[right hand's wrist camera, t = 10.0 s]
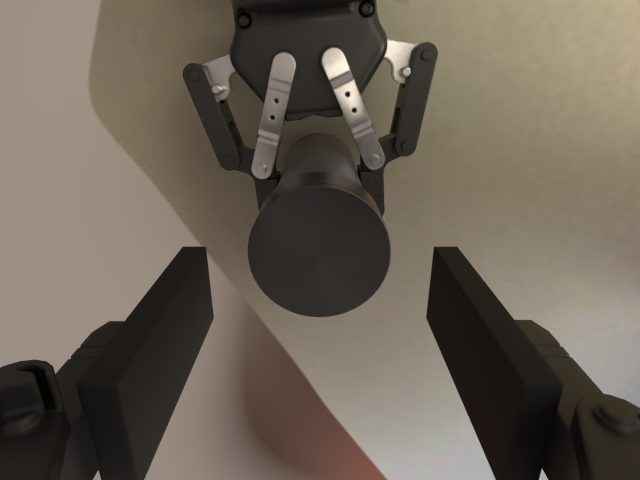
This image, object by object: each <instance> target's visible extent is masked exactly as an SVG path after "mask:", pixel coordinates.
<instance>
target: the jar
mask: <svg viewBox="0 0 640 480" xmlns="http://www.w3.org/2000/svg"><path fill="white" fill-rule="evenodd" d="M309 172H330V173H335V174H339V175H342V176H345V177H347V178H349V179H351V180H353V181H355V182H356V183H358V184H359V185H360V186H362V184H361V182H360V179H359V176H358V173H357V171H356V168H355V165H354V162H353V159H352V157H351V154H350V152H349V150H348V148H347V147H346V146H345V145H344V143H343V142H341V141H340V140H339V139H337V138H336V137H334V136H331V135H328V134H312V135H309V136H306V137H304V138H303V139H301V140H300V141H299V142H297V143H296V144H295V146H294V147H293V148H292V150H291V152H290V154H289V156H288V159H287V162H286V164H285V167H284V170H283V172H282V175H281V178H280V180H279V183H278V186H279V185H280V184H282V183H283V182H285V181H286V180H288V179H290V178H292V177H294V176H297V175H300V174H304V173H309ZM278 186H277V187H278Z"/></svg>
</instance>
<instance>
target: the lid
mask: <svg viewBox="0 0 640 480" xmlns="http://www.w3.org/2000/svg"><path fill="white" fill-rule="evenodd" d="M248 259H249V265H250V268H251V272H252V274H253V276H254V279H255V281H256V282H257V284H258V285H259V287H260V288H261V289H262V291H263V292H264V293H265V294H266V295H267V296H268V297H269V298H270V299H271V300H272V301H274V302H275V303H276V304H278V305H279V306H281V307H283V308H285V309H287V310H289V311H291V312H294V313H297V314H300V315H305V316H312V317H328V316H334V315H339V314H342V313H345V312H348V311H350V310H353V309H355V308H356V307H358V306H360V305H361V304H363V303H364V302H365V301H367V300H368V299H369V298H370V297H371V296H372V295H373V294H374V293H375V292H376V291H377V290H378V288H379V287H380V285H381V284H382V282H383V281H384V279H385V276H386V274H387V272H388V268H389V265H390V259H391V243H390V237H389V234H388V230H387V228H386V225H385V223H384V221H383V218H382V216H381V214H380V211H379V209H378V207H377V205H376V203H375V201H374V200H373V198H372V197H371V196H370V194H369V193H368V192H367V191H366V190H365V189H364V188H363V187H362V186H360V185H359V184H358V183H356V182H355V181H353V180H351V179H349V178H347V177H345V176H342V175H339V174H335V173H330V172H309V173H304V174H300V175H297V176H294V177H292V178H290V179H288V180H286V181H285V182H283V183H282V184H280V185H279V186H278V187H276V188H275V189H274V190H273V191H272V192H271V193H270V195H269V196H268V197H267V198H266V200H265V202H264V203H263V205H262V207H261V209H260V212H259V214H258V216H257V218H256V221H255V223H254V225H253V228H252V230H251V234H250V237H249V243H248Z"/></svg>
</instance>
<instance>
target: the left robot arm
mask: <svg viewBox="0 0 640 480" xmlns="http://www.w3.org/2000/svg"><path fill="white" fill-rule="evenodd" d="M232 6H233V14H234V21H235V33H234V38H233V42H232V44H231V47H230V54H228V55H225V56H223V57H220V58H217V59H215V60H212V61H209V62H207V63H204V64H196V63H191V64H188V65H187V66H186V67H185V68H184V70H183V78H184V81H185V83H186V85H187V88H188V90H189V92H190V95H191V97H192V99H193V102H194V104H195V106H196V109H197V111H198V114H199V116H200V118H201V121H202V123H203V125H204V128H205V130H206V132H207V135H208V137H209V140H210V142H211V144H212V147H213V149H214V151H215V154H216V156H217V158H218V161H219V163H220V165H221V166H222V167H223V168H224V169H226V170H229V171H231V170H237V171H241V172H245V173H247V174H249V175H250V176H251V177H252V178H253V179H254V182H255V186H256V193H257V200H258V207H259V212H260V209H261V207H262V205H263V203H264V202H265V200H266V198H267V197H268V196H269V195H270V193H271V192H272V191H273V190H274V189H275V188H276V187H277V186H278V183H279V180H280V178H281V173H280V171H277V170H276V161H277V157H278V153H279V148H280V144H281V140H282V136H283V133H284V129H285V125H286V121H292V120H301V119H304V118H306V117H309V116H311V115H318V116H324V117H338V116H342V114H343V115H344V118H345V120H346V122H347V125H348V127H349V129H350V132H351V134H352V136H353V139H354V141H355V143H356V146H357V148H358V150H359V152H360V165H357V171H358V176H359V179H360V182H361V184H362V187H363V188H364V189H365V190H366V191H367V192H368V193H369V194H370V196H371V197H372V198H373V200H374V201H375V203H376V205H377V207H378V209H379V211H380V214H381V216H383V214H384V181H383V171H384V168H385V166H386V164H387V163H388V162H390V161H392V160H394V159H396V158H398V157H400V156H409V155H411V154H412V153H413V152H414V151H415V149H416V145H417V141H418V136H419V132H420V128H421V124H422V119H423V115H424V111H425V107H426V103H427V98H428V94H429V90H430V86H431V81H432V77H433V73H434V69H435V64H436V60H437V56H438V52H437V48H436V47H435V45H434V44H432V43H429V42H425V43H419V44H412V43H407V42H401V41H395V40H389V39H387V36H386V34H385V31H384V30H383V28H382V26H381V24H380V22H379V19H378V15H377V7H376V0H232ZM383 58H384V59H386V60H387V61H388V62H389V63H390V66H391V77H392V79H393V80H394V81H395V82H397V83H400V87H399V91H398V96H397V101H396V106H395V110H394V115H393V120H392V125H391V129H390V134H388V135H386V136H384V137H382V138H380V139H378V138H377V136H376V134H375V131H374V129H373V125H372V122H371V120H370V117H369V115H368V112H367V110H366V108H365V105H364V103H363V100H362V98H361V94H362V93H363V91H364V89H365V88H366V86H367V85H368V83H369V81H370V80H371V78H372V76H373V75H374V73H375V71H376V70H377V68H378V66H379V65H380V63H381V61H382V60H383ZM236 72H237V73H238V74H239V75H240V76H241V78H242V79H243V80H244V81H245V82H246V83H247V84H248V86H249V87H250V88H251V89H252V90H253V91H254V92H255V94H256V95H257V96H258V97H259V98H260V99H261V100H262V102H263V103H264V106H263V111H262V116H261V120H260V125H259V130H258V139H257V143H256V148H255V149H252V148H248V147H245V146H244V143H243V141H242V138H241V136H240V133H239V131H238V128H237V126H236V123H235V121H234V118H233V116H232V113H231V111H230V108H229V106H228V103H227V101H226V99H227V98H229V97H230V96H231V94H232V91H233V87H232V77H233V75H234V74H235V73H236Z"/></svg>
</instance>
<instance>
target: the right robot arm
mask: <svg viewBox="0 0 640 480" xmlns="http://www.w3.org/2000/svg"><path fill="white" fill-rule="evenodd" d="M213 318H214V317H213V307H212V298H211V289H210V280H209V271H208V261H207V252H206V247H182V249H181V250H180V251H179V252H178V254H177V255H176V256H175V258H174V259H173V260H172V261H171V263H170V264H169V265H168V267H167V268H166V269H165V270H164V272H163V273H162V274H161V276H160V277H159V278H158V279H157V281H156V282H155V283H154V284H153V286H152V287H151V288H150V290H149V291H148V292H147V293H146V295H145V296H144V297H143V299H142V300H141V301H140V302H139V304H138V305H137V306H136V308H135V309H134V310H133V311H132V313H131V314H130V315H129V316H128V318H127V319H126V320H125V321H110V322H108V323H106V324H104V325H103V326H101V327H100V328H98V329H97V330H95V331H94V332H92V333H91V334H90V335H89V336H88V338H87V339H86V340H85V341H84V342H83V343H82V344H81V347H80V348H78V349H77V350H76V351H75V352H74V354H73V355H72V356H71V359H68V360H67V362H66V363H65V364H64V365H63V366H62V367H61V368H60V370H59V371H58V372H57V373H56V374H55V372H54V369H53V366H52V365H50V364H49V363H48V362H46V361H40V360H28V361H20V362H16V363H13V364H9V365H6V366H3V367H1V368H0V480H93V478H94V476H95V475H96V473H97V471H98V469H99V473H100V476H101V480H144V479H145V476H146V474H147V472H148V469H149V467H150V465H151V462H152V460H153V458H154V455H155V453H156V451H157V448H158V446H159V444H160V441H161V439H162V437H163V434H164V432H165V430H166V427H167V425H168V423H169V421H170V418H171V416H172V414H173V411H174V409H175V407H176V404H177V402H178V400H179V397H180V395H181V393H182V390H183V388H184V386H185V383H186V381H187V379H188V376H189V374H190V372H191V369H192V367H193V365H194V363H195V360H196V358H197V355H198V353H199V351H200V348H201V346H202V344H203V342H204V339H205V337H206V335H207V332H208V330H209V328H210V325H211V323H212V321H213ZM426 318H427V321H428V323H429V325H430V328H431V330H432V332H433V335H434V337H435V339H436V342H437V344H438V346H439V349H440V351H441V353H442V356H443V358H444V360H445V363H446V365H447V367H448V369H449V372H450V374H451V376H452V379H453V381H454V383H455V386H456V388H457V390H458V393H459V395H460V397H461V400H462V402H463V404H464V407H465V409H466V411H467V414H468V416H469V418H470V421H471V423H472V425H473V428H474V430H475V432H476V434H477V437H478V439H479V441H480V444H481V446H482V448H483V451H484V453H485V455H486V458H487V460H488V462H489V465H490V467H491V469H492V472H493V474H494V476H495V479H496V480H539V476H540V473H541V469H543V471H544V472H545V474H546V476H547V478H548V480H640V408H639V407H637V406H635V405H633V404H631V403H629V402H628V401H626V400H623V399H620V398H617V397H614V396H611V395H606V394H603V393H602V391H601V390H600V389H599V388H598V387H597V386H596V385H595V384H594V382H593V381H592V380H591V379H590V378H589V377H588V376H587V374H586V373H585V372H584V371H583V370H582V369H581V368H580V366H579V365H578V364H577V363H576V362H575V361H574V360H573V358H570V357H569V354H568V353H567V352H566V351H565V349H564V348H563V347H560V344H559V343H558V341H557V340H556V339H555V338H554V337H553V336H552V335H551V333H550V332H549V331H547V330H546V329H544V328H543V327H541V326H540V325H538V324H536V323H535V322H533V321H532V320H514V319H513V318H512V316H511V315H510V314H509V313H508V311H507V310H506V309H505V307H504V306H503V305H502V304H501V302H500V301H499V300H498V299H497V297H496V296H495V295H494V293H493V292H492V291H491V290H490V288H489V287H488V286H487V284H486V283H485V282H484V281H483V279H482V278H481V277H480V275H479V274H478V273H477V272H476V270H475V269H474V268H473V267H472V265H471V264H470V263H469V261H468V260H467V259H466V258H465V256H464V255H463V254H462V252H461V251H460V250H459V249H458V247H434V252H433V261H432V271H431V280H430V289H429V298H428V307H427V317H426Z"/></svg>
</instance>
